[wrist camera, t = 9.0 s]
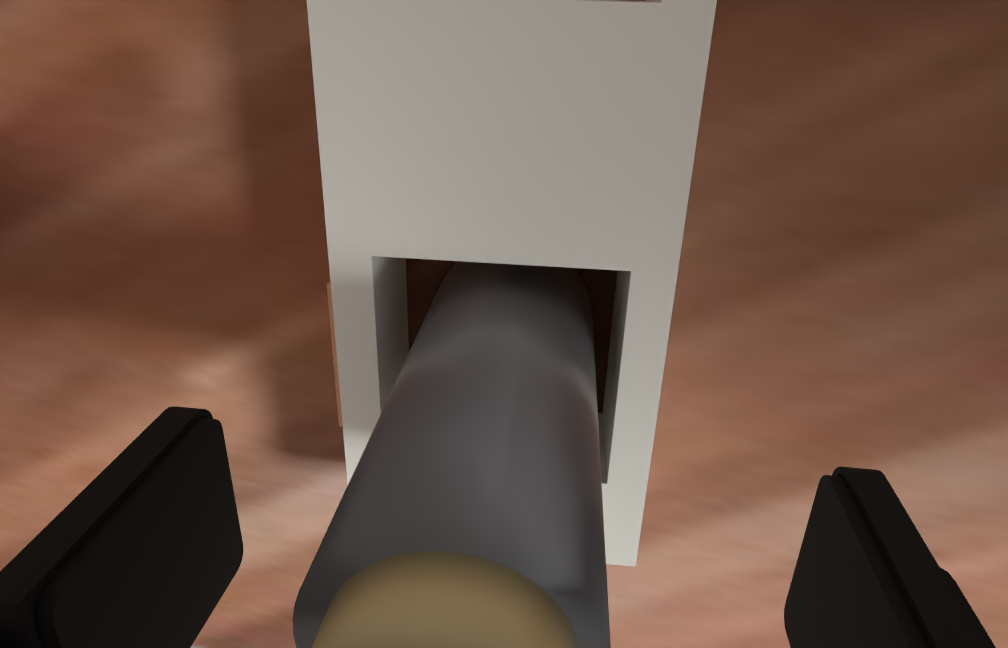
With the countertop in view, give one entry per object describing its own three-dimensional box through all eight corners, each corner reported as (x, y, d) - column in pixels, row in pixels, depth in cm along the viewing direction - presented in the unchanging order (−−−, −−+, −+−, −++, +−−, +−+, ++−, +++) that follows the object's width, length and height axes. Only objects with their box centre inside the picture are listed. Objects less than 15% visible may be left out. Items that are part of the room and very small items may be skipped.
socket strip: (757, -526, 11) (816, -692, 8) (627, 487, 20) (635, 566, 17) (313, -516, 12) (234, -671, 9) (375, 467, 20) (344, 541, 17)
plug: (598, 246, 17) (636, 628, 7) (585, 390, 18) (599, 867, 8) (433, 237, 17) (229, 590, 7) (435, 379, 19) (274, 829, 9)
